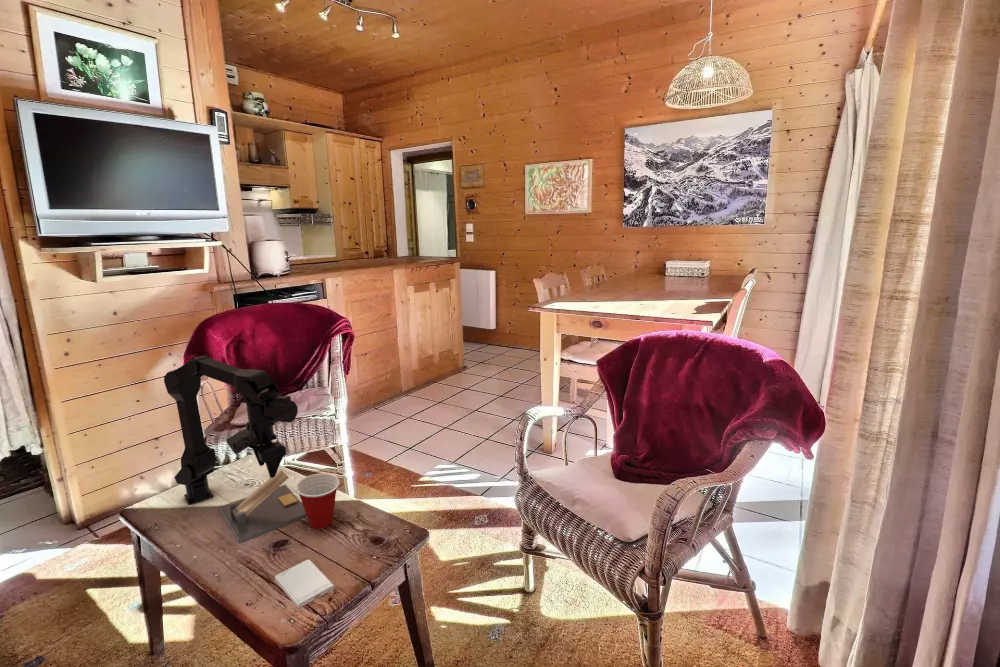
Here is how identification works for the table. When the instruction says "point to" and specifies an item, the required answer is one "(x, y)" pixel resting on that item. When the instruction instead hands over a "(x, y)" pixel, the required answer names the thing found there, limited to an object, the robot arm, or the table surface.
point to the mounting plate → (264, 514)
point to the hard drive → (304, 583)
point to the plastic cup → (318, 498)
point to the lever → (261, 493)
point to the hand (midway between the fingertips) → (267, 471)
